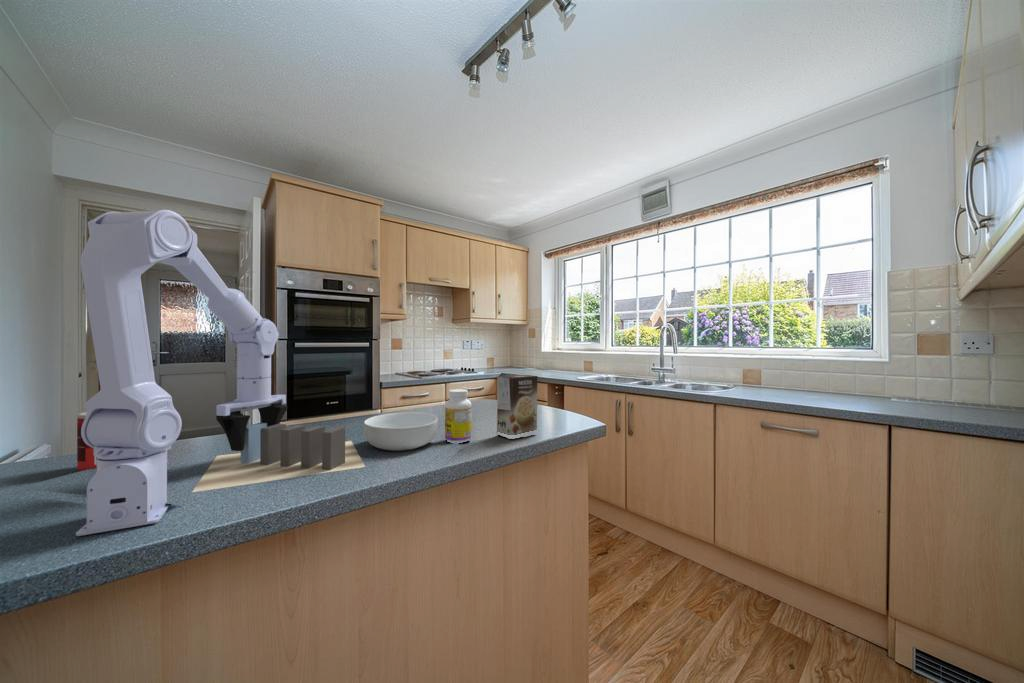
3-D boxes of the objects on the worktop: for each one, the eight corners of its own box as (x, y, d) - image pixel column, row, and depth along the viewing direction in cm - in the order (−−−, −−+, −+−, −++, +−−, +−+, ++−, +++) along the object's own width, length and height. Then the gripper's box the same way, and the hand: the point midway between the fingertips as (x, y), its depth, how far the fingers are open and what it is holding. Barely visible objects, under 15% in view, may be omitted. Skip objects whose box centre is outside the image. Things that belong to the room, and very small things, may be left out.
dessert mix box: (511, 440, 97) (511, 377, 97) (496, 435, 102) (496, 375, 102) (537, 435, 103) (538, 375, 103) (522, 430, 108) (522, 374, 108)
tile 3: (305, 459, 78) (305, 425, 78) (288, 466, 73) (288, 430, 73) (297, 459, 78) (297, 424, 78) (280, 466, 74) (280, 429, 74)
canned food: (146, 461, 79) (146, 408, 79) (101, 475, 71) (101, 415, 71) (113, 460, 80) (113, 407, 80) (64, 473, 72) (65, 414, 72)
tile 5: (345, 462, 76) (345, 427, 76) (330, 470, 72) (330, 432, 72) (337, 462, 76) (337, 426, 76) (322, 469, 72) (322, 432, 72)
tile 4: (324, 461, 77) (325, 426, 77) (309, 468, 72) (309, 431, 72) (316, 460, 77) (317, 425, 77) (301, 467, 73) (301, 430, 73)
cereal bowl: (352, 447, 91) (352, 417, 91) (416, 436, 102) (417, 409, 102) (382, 465, 78) (382, 430, 78) (451, 450, 89) (452, 419, 89)
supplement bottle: (443, 438, 99) (443, 389, 99) (468, 437, 101) (468, 388, 101) (446, 445, 92) (447, 392, 92) (473, 443, 94) (474, 391, 94)
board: (365, 472, 73) (365, 466, 73) (191, 498, 61) (191, 492, 61) (351, 444, 93) (351, 440, 93) (216, 460, 80) (216, 455, 80)
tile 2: (285, 458, 78) (285, 424, 78) (268, 465, 74) (268, 429, 74) (278, 457, 79) (278, 423, 79) (260, 464, 74) (260, 428, 74)
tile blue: (266, 456, 79) (266, 423, 79) (248, 463, 75) (248, 427, 75) (259, 456, 80) (259, 422, 80) (240, 463, 75) (240, 427, 75)
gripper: (266, 374, 85) (266, 435, 85) (202, 380, 71) (202, 454, 71) (294, 374, 84) (294, 437, 84) (235, 381, 70) (234, 456, 70)
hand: (254, 445), depth 77 cm, fingers open, 7 cm apart
